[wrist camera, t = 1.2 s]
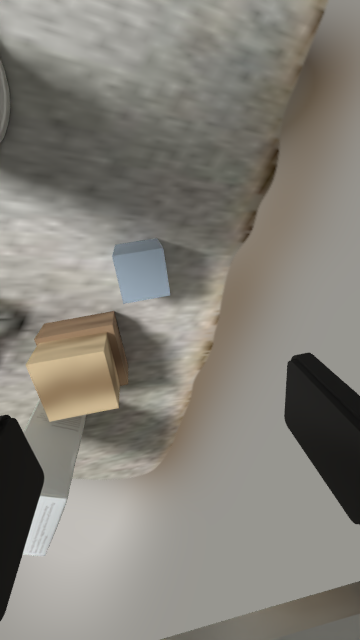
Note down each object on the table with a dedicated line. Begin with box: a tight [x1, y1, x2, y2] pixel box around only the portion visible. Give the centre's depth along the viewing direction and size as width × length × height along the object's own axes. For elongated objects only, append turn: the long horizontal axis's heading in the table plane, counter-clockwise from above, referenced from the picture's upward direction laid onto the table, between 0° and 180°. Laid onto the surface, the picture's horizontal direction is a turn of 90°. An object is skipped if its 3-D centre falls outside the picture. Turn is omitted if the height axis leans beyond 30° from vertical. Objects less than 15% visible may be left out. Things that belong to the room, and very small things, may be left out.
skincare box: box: [23, 399, 87, 556], centre depth 30 cm, size 8×6×15 cm
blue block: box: [112, 238, 170, 304], centre depth 28 cm, size 4×4×6 cm
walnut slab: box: [34, 311, 128, 386], centre depth 32 cm, size 8×8×4 cm
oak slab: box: [26, 332, 120, 422], centre depth 28 cm, size 7×7×4 cm
